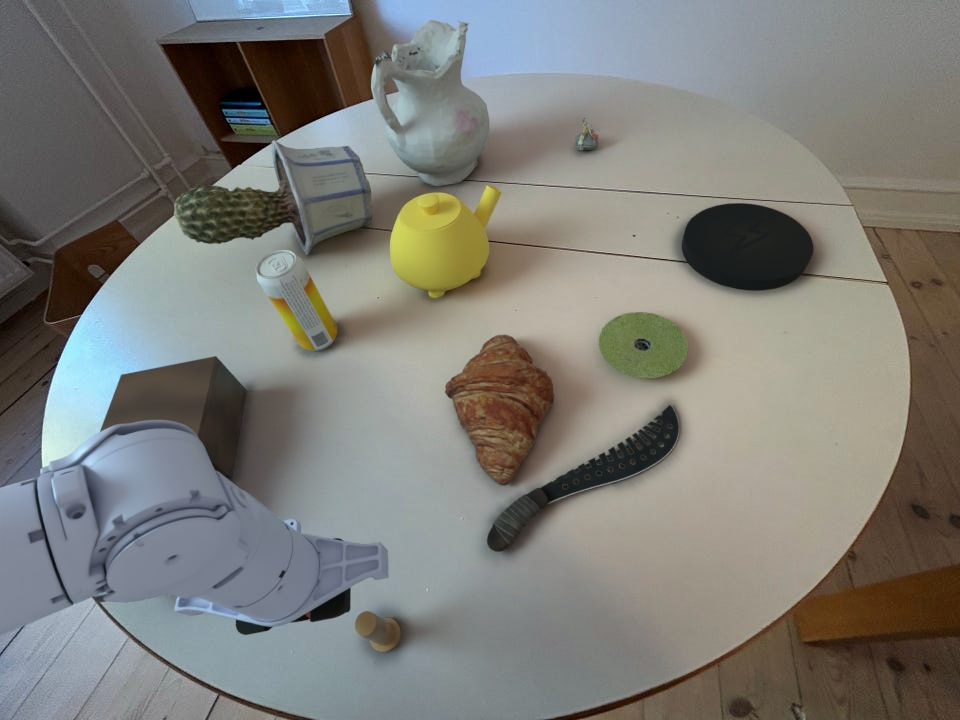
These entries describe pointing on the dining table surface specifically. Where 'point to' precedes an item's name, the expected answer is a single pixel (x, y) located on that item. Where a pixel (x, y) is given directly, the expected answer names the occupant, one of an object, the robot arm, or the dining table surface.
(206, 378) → the cabinet
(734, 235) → the wireless charger
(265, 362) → the dining table surface
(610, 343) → the green disc
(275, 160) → the potted plant
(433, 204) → the teapot
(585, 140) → the figurine
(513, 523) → the knife
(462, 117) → the ceramic pitcher
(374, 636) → the flanged wooden peg
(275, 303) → the yellow two-tone cylinder
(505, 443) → the pastry
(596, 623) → the dining table surface
